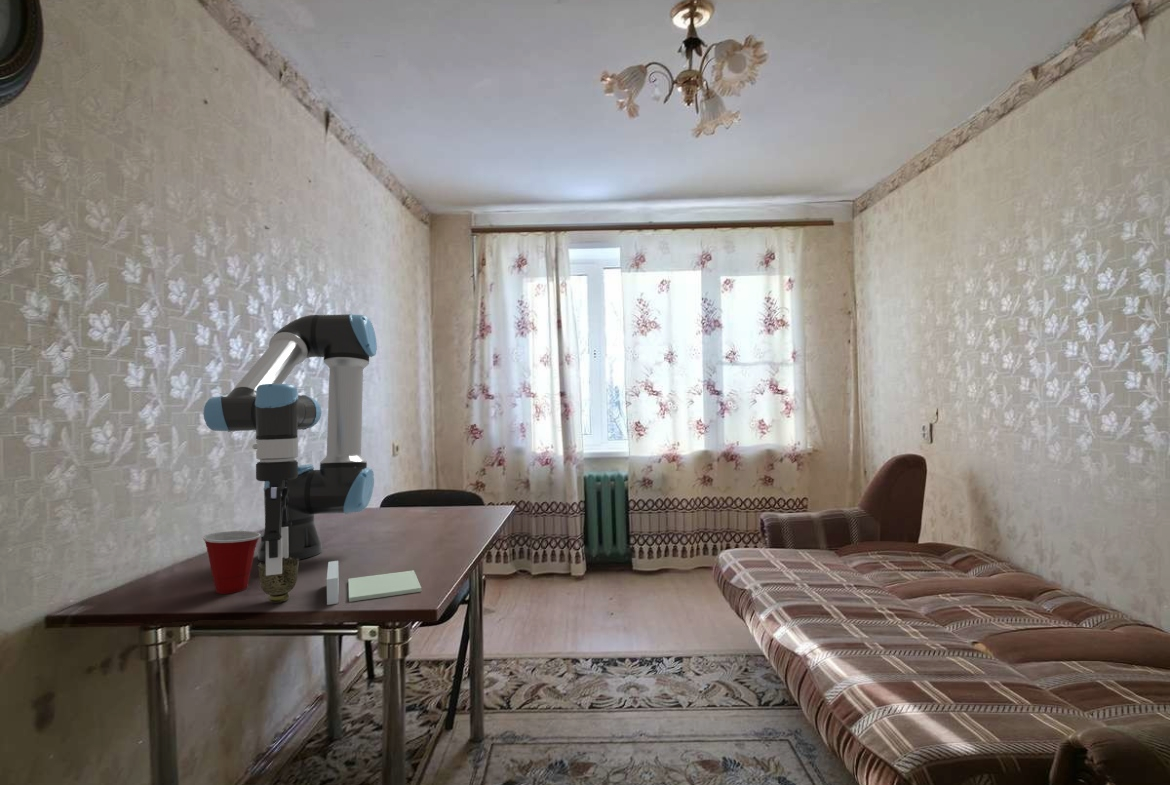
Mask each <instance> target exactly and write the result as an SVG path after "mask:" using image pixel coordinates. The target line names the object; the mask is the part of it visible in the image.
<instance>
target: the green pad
mask: <svg viewBox="0 0 1170 785" xmlns="http://www.w3.org/2000/svg"><path fill="white" fill-rule="evenodd" d="M347 581H348V602H349V603H350V602H351V603H352V602H356V601H357V602H358V601H364V600H371V599H372V600H373V599H379V598H386V597H392V596H399V595H407V594H414V593H421V592H422V586H421V584H420V582H419V579H418V576H417V574H416V572H415V570H406V571H399V572H389V573H383V574H381V573H380V574H375V575H367V576H359V577H351V578H348V580H347Z"/></svg>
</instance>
